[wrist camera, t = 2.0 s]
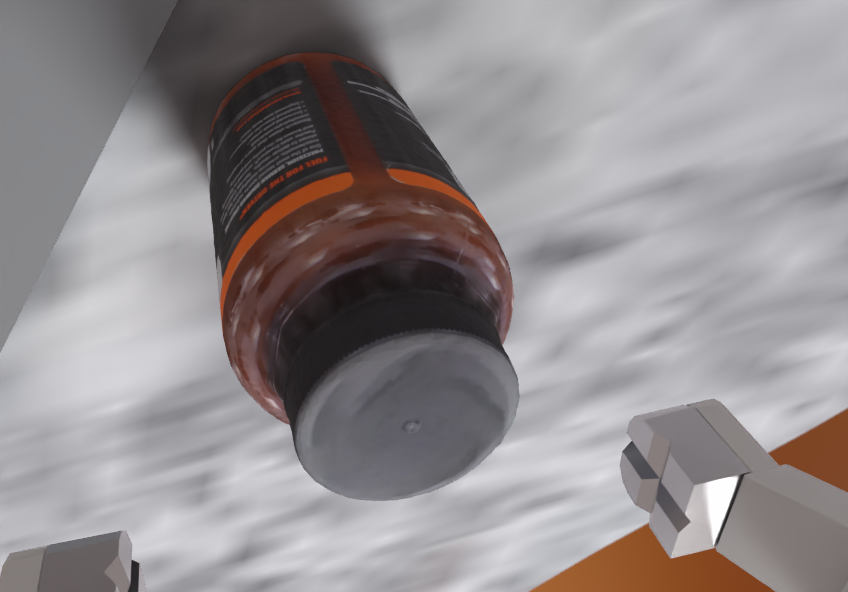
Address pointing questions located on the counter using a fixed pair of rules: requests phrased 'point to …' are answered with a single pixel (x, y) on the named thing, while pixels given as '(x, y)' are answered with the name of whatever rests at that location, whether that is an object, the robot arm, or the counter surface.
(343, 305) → the supplement bottle
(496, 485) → the counter surface
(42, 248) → the build board
